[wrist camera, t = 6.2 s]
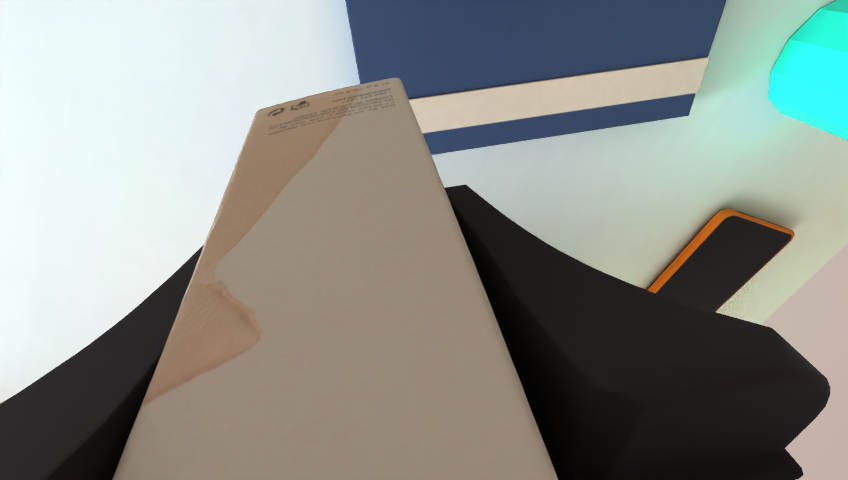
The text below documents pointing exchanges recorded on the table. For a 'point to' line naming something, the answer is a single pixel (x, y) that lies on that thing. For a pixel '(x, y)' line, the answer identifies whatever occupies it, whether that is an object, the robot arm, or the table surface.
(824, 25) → the candle
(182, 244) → the table surface
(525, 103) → the towel
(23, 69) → the table surface
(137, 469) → the box
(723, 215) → the smartphone
